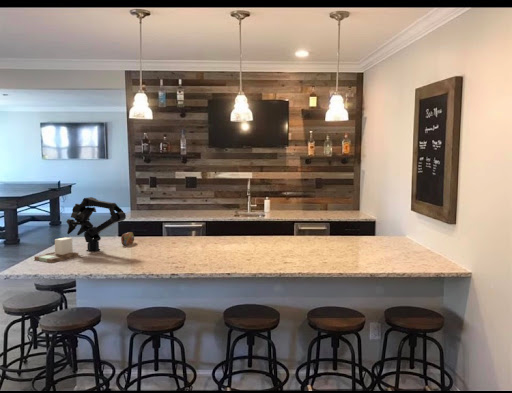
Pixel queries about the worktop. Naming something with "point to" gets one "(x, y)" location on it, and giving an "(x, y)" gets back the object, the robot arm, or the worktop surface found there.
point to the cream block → (63, 246)
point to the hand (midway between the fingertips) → (72, 234)
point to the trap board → (57, 256)
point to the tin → (127, 238)
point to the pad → (45, 258)
